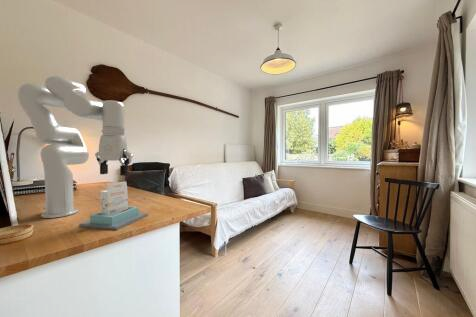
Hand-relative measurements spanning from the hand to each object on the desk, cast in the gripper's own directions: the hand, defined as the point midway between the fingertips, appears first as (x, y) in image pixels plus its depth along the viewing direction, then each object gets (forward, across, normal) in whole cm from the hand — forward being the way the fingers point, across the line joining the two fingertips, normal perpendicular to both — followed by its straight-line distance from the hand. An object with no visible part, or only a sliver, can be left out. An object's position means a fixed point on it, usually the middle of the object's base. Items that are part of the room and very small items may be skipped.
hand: (113, 174), depth 83 cm
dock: (+19, +1, 0) cm, 19 cm away
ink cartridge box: (+18, 0, 0) cm, 18 cm away
